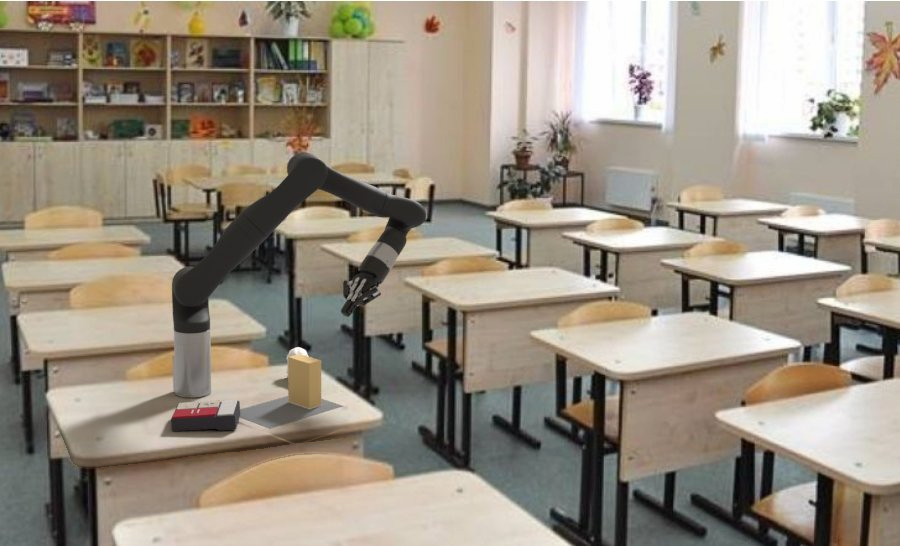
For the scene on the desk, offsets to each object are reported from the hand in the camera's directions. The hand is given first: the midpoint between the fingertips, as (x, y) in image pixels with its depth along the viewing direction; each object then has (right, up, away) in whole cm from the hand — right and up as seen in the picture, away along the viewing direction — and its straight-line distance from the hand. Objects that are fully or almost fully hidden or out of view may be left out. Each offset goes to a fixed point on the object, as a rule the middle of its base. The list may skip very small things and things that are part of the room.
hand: (344, 314), depth 277 cm
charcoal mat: (-14, -24, -10) cm, 29 cm away
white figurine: (-14, -19, +14) cm, 28 cm away
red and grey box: (-31, -25, -22) cm, 46 cm away
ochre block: (-10, -23, -6) cm, 25 cm away
